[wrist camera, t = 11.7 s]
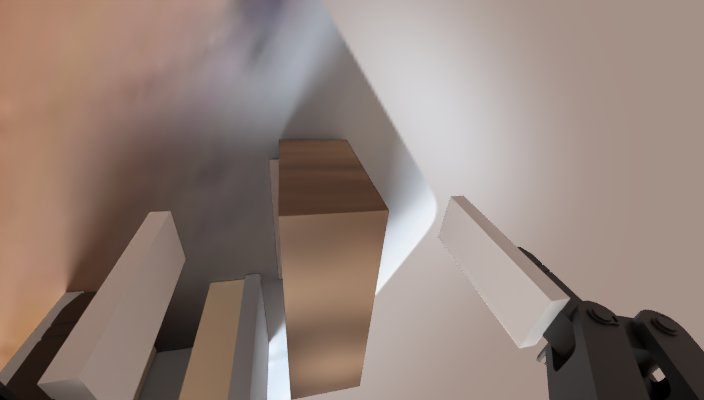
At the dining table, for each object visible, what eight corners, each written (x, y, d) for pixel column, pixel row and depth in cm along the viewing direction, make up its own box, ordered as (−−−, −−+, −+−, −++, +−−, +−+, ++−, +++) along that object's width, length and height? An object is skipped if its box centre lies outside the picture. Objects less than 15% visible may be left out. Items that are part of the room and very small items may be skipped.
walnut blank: (279, 139, 18) (278, 216, 11) (346, 139, 19) (388, 210, 12) (287, 290, 25) (291, 399, 18) (336, 284, 26) (359, 386, 19)
